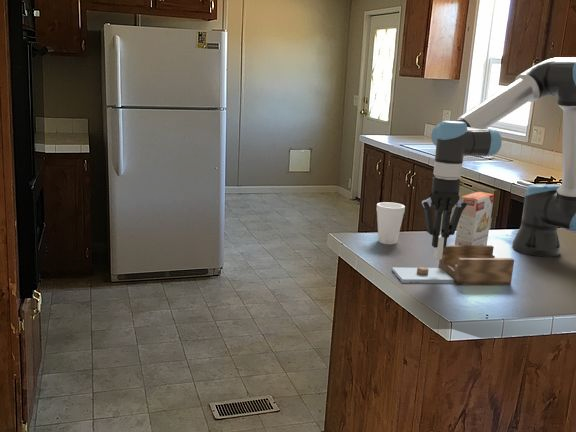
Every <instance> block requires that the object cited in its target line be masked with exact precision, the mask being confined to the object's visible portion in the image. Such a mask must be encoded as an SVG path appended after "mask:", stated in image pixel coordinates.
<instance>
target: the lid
mask: <svg viewBox="0 0 576 432" xmlns="http://www.w3.org/2000/svg"><path fill="white" fill-rule="evenodd" d="M391 271H393V272H394V273H395V274H394V273H393V272H392V273H393V274H394V275H395V276H396V278H397V279H398V278H399V279H400V280H399V279H398V280H399V281H400V283H403V284H411V283H410V282H421V283H420V284H455V283H454V279H453V278H452V277H451V276H449V275H448V274H447V273H446V272H445V271H444V270H443V269H442V268H439V267H424V266H419V267H393V266H392V267H391Z"/></svg>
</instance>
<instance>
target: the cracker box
mask: <svg viewBox="0 0 576 432" xmlns="http://www.w3.org/2000/svg"><path fill="white" fill-rule="evenodd" d="M494 199H495V194H494V193H488V192H483V191H475V192H471V193H469V194H465V195H463V196H461V197H460V200H461V201H463V202H465V203H466V204H467V206H466V207H465V208H464V210H463V211H462V214H461V217H460V219H459V222H458V225H457V228H456V231H455V240H454V245H485V246H488V238H489V233H490V226H491V218H492V211H493V206H494Z"/></svg>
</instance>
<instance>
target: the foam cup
mask: <svg viewBox="0 0 576 432" xmlns="http://www.w3.org/2000/svg"><path fill="white" fill-rule="evenodd" d="M405 209H406V206H405V205H404V204H402V203H397V202H391V201H390V202H387V201H386V202H385V201H383V202H378V203H377V204H376V219H377V236H378V237H377V239H378V242H379V243H381V244H383V245H396V244H397V243H398V239H399V235H400V233H401V232H400V231H401V226H402V222H403V218H404V214H405V212H406V210H405Z"/></svg>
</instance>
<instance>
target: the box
mask: <svg viewBox="0 0 576 432" xmlns="http://www.w3.org/2000/svg"><path fill="white" fill-rule="evenodd" d="M493 254H494V246H493V245H487V246H485V245H455V244H453V245H452V244H446V247H445V248H443V253H442V259H438V260H439V261H438V268H442V269H443V270H444V271H445V272H446V273H447V274H448V275H449V276H451V277H452V278H453V279H454V283H453V284H455V285H457V286H511V285H512V278H513V271H514V266H515V265H514V264H515V259H514V258H511V257H496V256H495V255H493Z"/></svg>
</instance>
